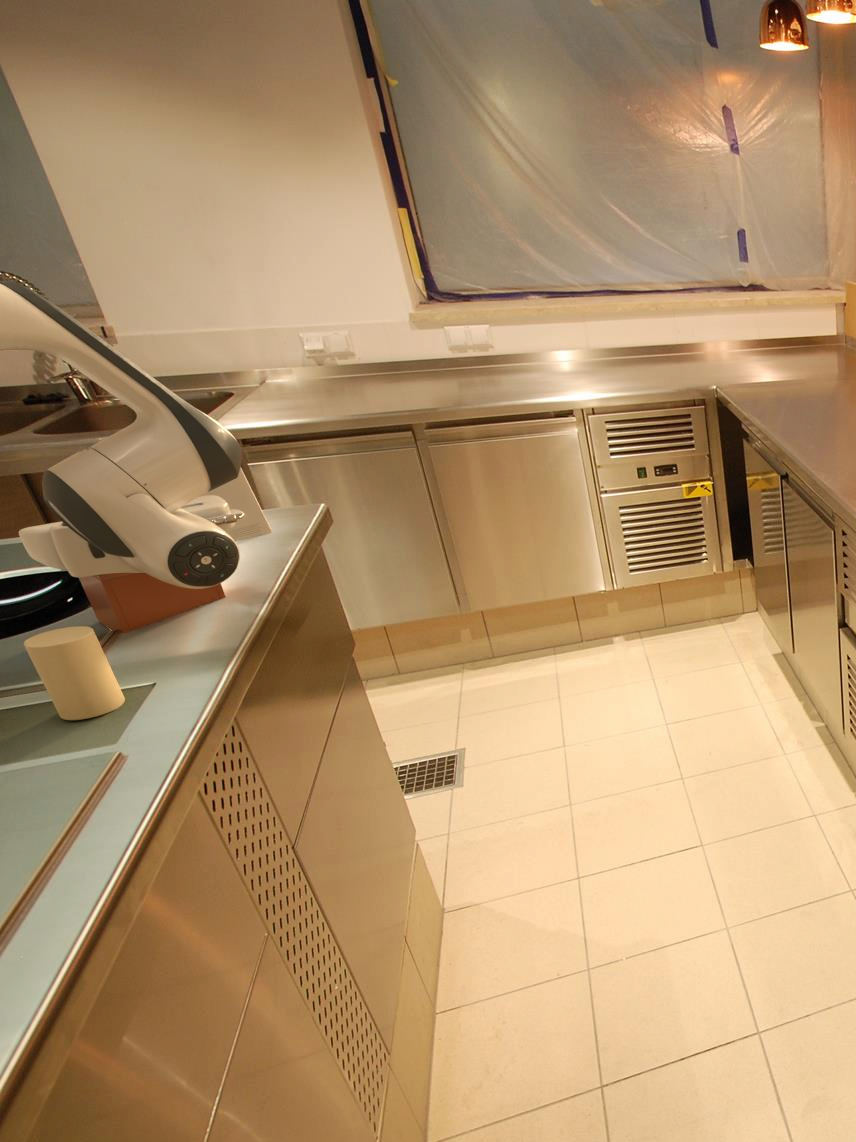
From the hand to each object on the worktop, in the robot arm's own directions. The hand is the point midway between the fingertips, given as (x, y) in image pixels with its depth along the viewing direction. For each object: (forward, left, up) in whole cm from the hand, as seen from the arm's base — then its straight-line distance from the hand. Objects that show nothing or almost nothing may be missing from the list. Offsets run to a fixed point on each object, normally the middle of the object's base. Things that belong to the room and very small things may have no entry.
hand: (113, 516), depth 113 cm
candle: (-14, -28, -14) cm, 35 cm away
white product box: (+18, +19, -13) cm, 29 cm away
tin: (0, -5, -14) cm, 15 cm away
